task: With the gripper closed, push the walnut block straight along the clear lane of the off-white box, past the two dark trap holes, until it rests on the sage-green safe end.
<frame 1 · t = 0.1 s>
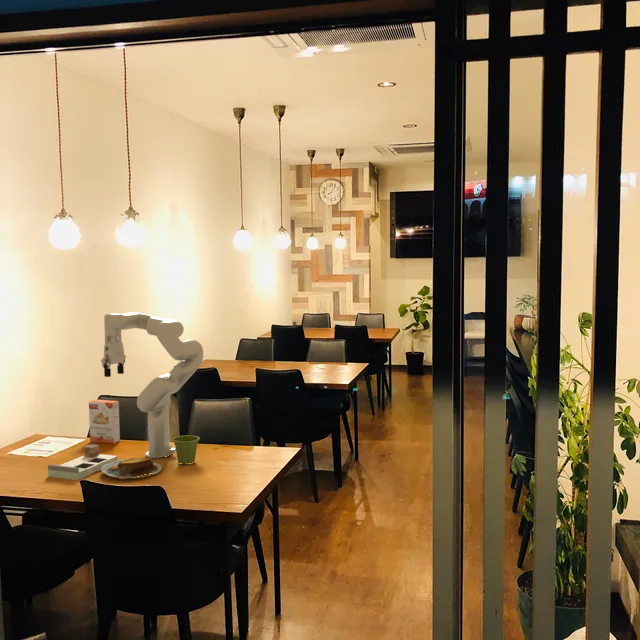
hand: (114, 375, 315), 37 cm above the table, tool pointing down, fingers open, 9 cm apart
cracker box: (104, 442, 335), on the table
walnut block: (91, 455, 298), point 3 cm above the table, touching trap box
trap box: (84, 469, 288), on the table
plant pot: (186, 463, 297), on the table
food on plate: (131, 473, 283), on the table
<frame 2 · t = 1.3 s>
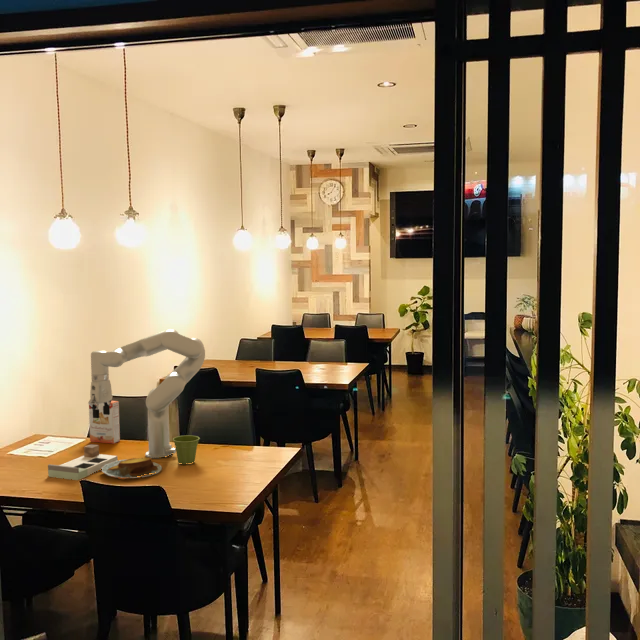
hand: (101, 415, 304), 20 cm above the table, tool pointing down, fingers open, 6 cm apart
nothing on the table moved.
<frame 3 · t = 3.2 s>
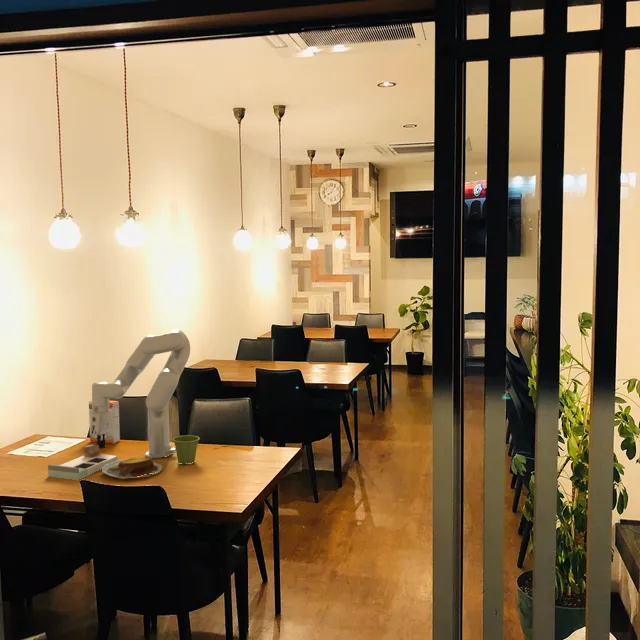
hand: (101, 447, 305), 5 cm above the table, tool pointing down, fingers closed
nothing on the table moved.
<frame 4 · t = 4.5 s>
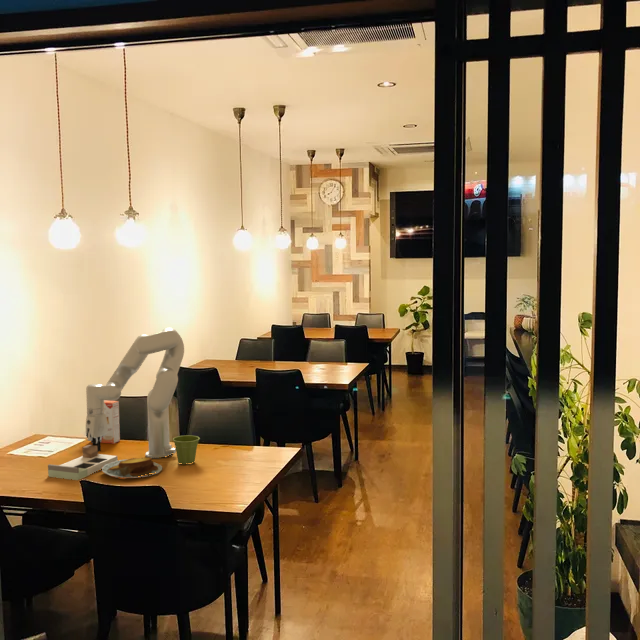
hand: (96, 451, 302), 4 cm above the table, tool pointing down, fingers closed
walnut block: (90, 456, 298), point 3 cm above the table, touching gripper
everything else where it was.
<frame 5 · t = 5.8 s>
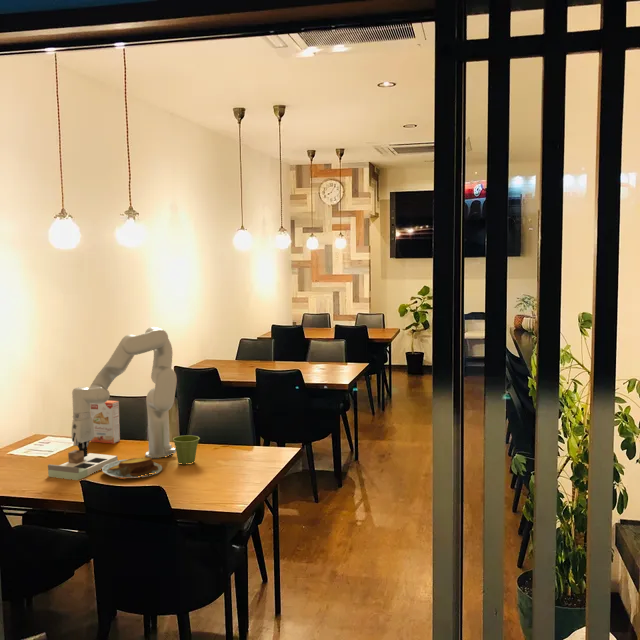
hand: (83, 456, 293), 4 cm above the table, tool pointing down, fingers closed
walnut block: (76, 461, 289), point 3 cm above the table, touching gripper, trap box
everything else where it was.
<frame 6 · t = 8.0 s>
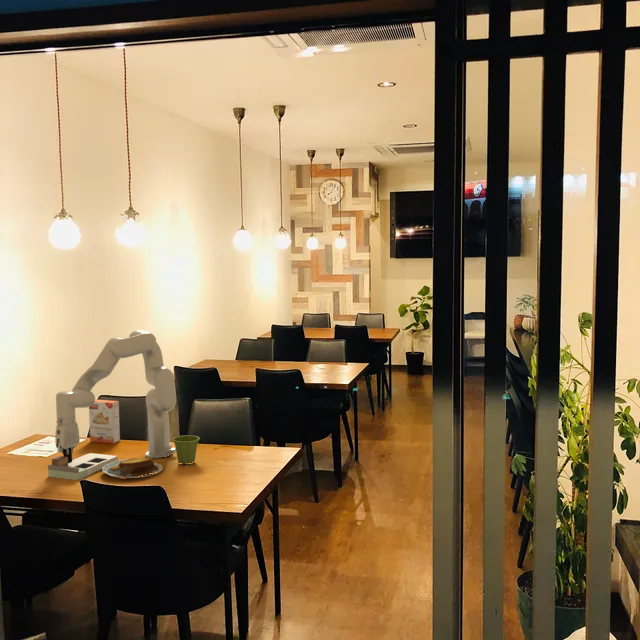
hand: (67, 462, 284), 4 cm above the table, tool pointing down, fingers closed
walnut block: (60, 468, 280), point 3 cm above the table, touching gripper, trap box
everything else where it was.
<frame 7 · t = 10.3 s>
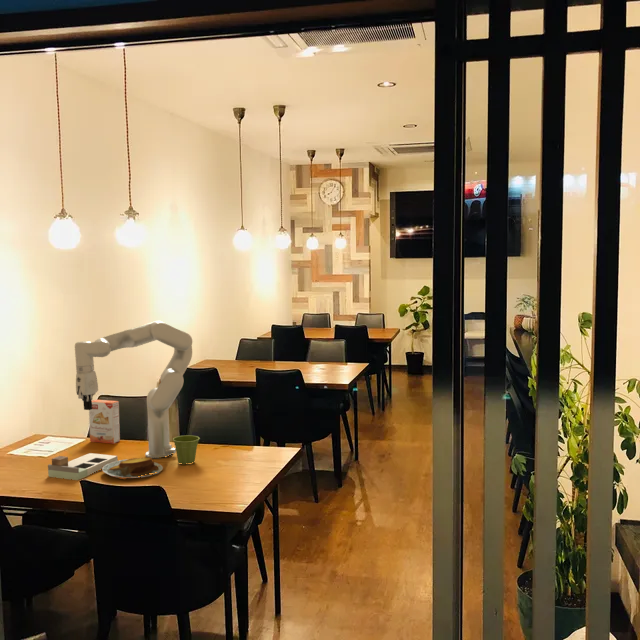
hand: (88, 409, 296), 24 cm above the table, tool pointing down, fingers closed
walnut block: (60, 468, 280), point 3 cm above the table, touching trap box
everything else where it was.
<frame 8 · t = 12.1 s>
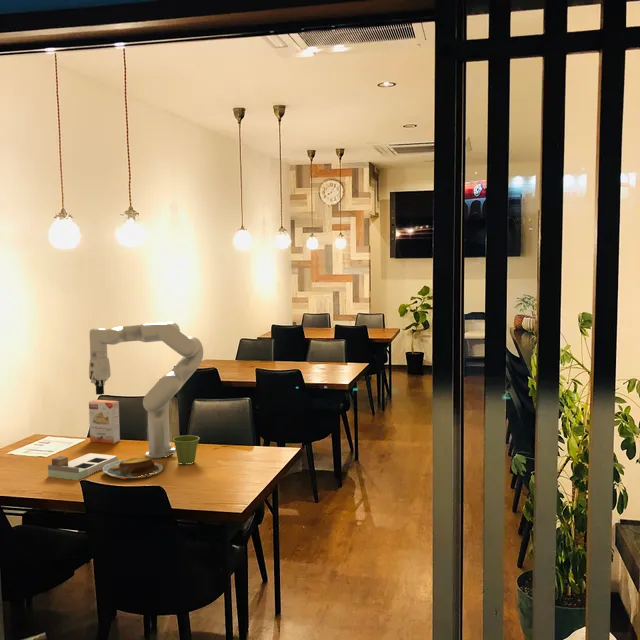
hand: (100, 394, 307), 29 cm above the table, tool pointing down, fingers closed
nothing on the table moved.
at the end: walnut block 1.1 cm from the target spot on the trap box, point 3.0 cm above the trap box's base; walnut block tilted 0° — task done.
